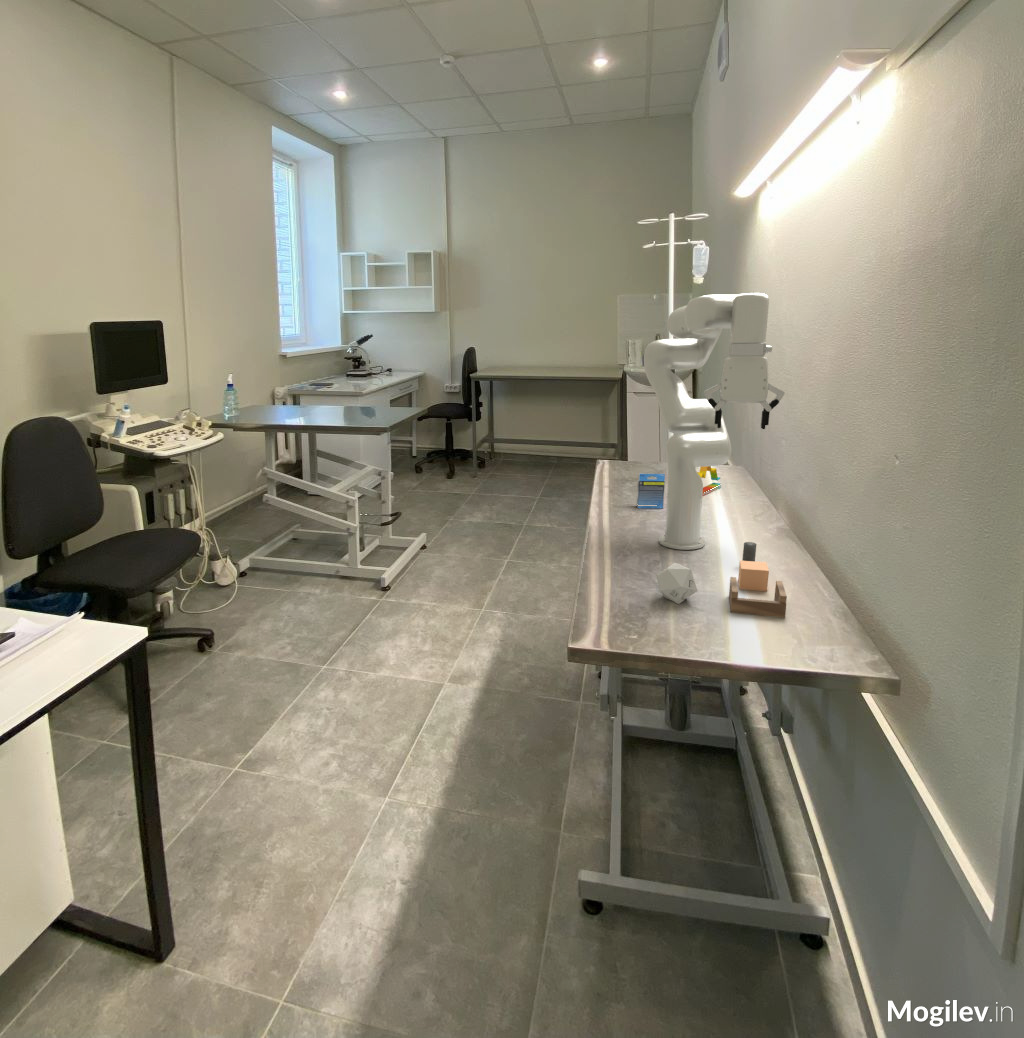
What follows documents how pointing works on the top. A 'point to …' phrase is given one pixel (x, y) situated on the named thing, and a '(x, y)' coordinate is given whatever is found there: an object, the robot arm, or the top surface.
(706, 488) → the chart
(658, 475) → the label tape box
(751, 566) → the block
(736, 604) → the shelf lane
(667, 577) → the die
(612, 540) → the top surface
